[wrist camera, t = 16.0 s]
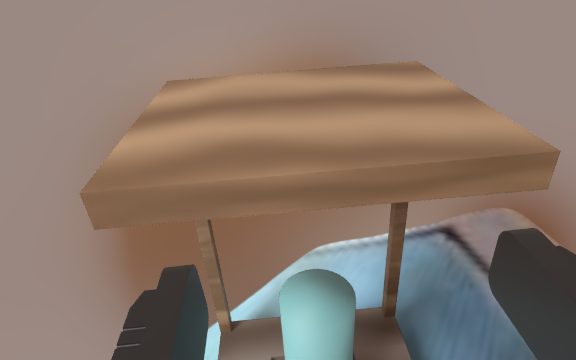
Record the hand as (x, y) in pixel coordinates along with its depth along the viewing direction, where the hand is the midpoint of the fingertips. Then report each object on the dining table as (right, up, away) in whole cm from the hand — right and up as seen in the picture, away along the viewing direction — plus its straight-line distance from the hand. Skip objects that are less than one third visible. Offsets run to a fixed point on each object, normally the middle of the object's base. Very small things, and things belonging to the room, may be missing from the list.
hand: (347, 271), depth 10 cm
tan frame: (+1, -17, +22) cm, 28 cm away
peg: (+1, -17, +22) cm, 28 cm away
